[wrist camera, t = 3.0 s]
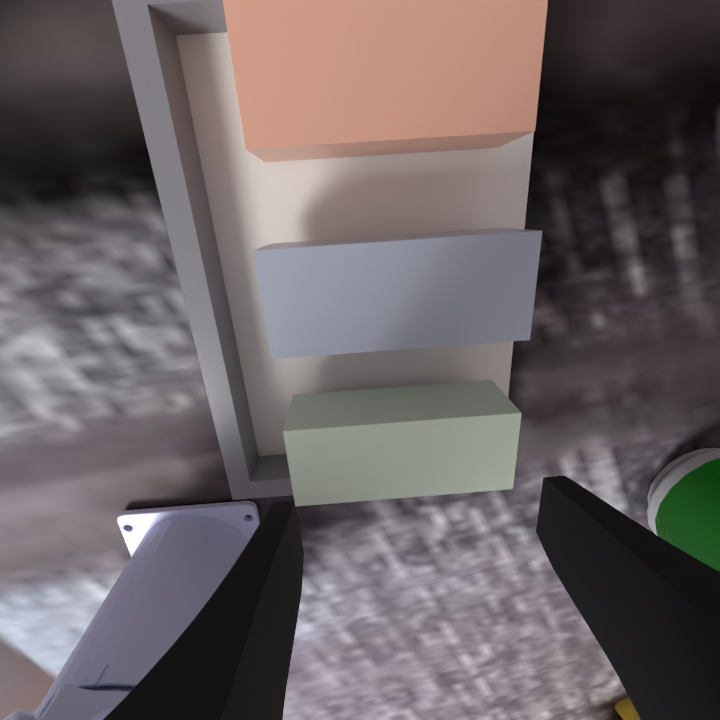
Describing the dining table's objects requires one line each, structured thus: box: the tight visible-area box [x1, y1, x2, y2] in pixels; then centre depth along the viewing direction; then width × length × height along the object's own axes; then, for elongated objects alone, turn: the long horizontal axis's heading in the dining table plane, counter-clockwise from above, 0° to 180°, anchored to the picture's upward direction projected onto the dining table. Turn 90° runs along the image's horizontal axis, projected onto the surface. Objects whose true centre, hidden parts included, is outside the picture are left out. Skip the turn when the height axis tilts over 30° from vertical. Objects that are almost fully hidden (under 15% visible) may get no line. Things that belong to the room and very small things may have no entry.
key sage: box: [283, 380, 522, 507], centre depth 16 cm, size 4×9×3 cm, turn 93°
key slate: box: [253, 228, 542, 359], centre depth 13 cm, size 4×9×3 cm, turn 94°
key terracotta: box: [223, 0, 548, 162], centre depth 12 cm, size 4×9×3 cm, turn 93°
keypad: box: [112, 0, 534, 500], centre depth 16 cm, size 20×14×3 cm
